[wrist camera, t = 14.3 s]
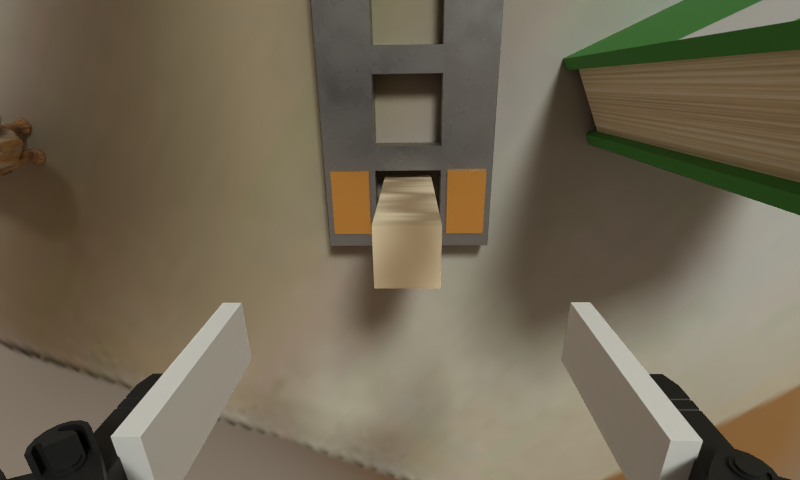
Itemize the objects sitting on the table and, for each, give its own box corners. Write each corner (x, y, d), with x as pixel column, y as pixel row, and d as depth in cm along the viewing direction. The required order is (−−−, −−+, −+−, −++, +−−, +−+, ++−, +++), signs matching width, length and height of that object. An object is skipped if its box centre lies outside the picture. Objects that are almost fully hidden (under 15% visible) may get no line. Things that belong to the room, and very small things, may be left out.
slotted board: (334, 238, 39) (330, 247, 36) (312, -52, 30) (304, -62, 28) (483, 237, 38) (487, 246, 36) (501, -57, 30) (508, -67, 28)
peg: (386, 217, 38) (374, 288, 25) (385, 174, 36) (371, 225, 23) (430, 217, 38) (440, 288, 24) (430, 174, 36) (442, 225, 23)
